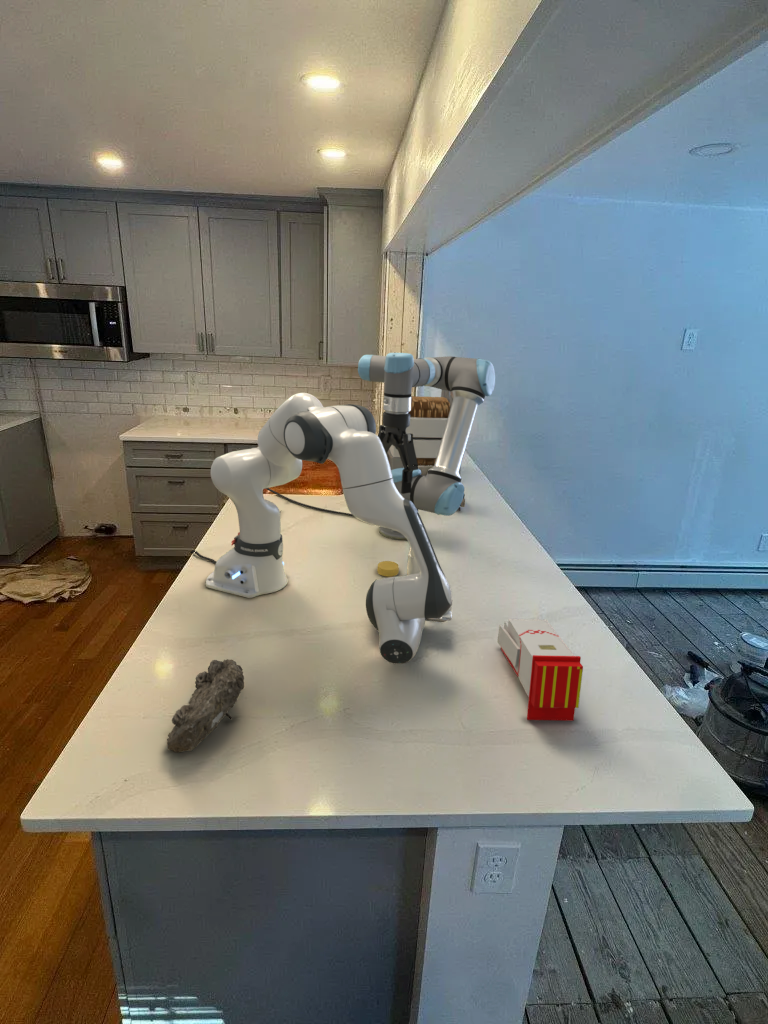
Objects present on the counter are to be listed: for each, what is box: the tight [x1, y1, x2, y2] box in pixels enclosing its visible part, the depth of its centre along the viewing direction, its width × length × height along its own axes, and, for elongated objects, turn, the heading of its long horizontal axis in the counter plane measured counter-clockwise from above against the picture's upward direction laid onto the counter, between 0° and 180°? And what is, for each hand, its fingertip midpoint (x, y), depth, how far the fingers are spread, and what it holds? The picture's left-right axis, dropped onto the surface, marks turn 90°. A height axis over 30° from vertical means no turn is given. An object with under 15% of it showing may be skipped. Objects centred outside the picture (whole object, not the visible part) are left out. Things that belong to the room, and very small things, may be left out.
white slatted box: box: [386, 389, 462, 476], centre depth 268 cm, size 34×33×41 cm
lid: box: [376, 560, 400, 578], centre depth 170 cm, size 6×6×2 cm
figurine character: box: [457, 493, 466, 511], centre depth 229 cm, size 7×8×15 cm
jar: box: [406, 546, 420, 575], centre depth 151 cm, size 6×6×16 cm
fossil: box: [166, 658, 245, 754], centre depth 106 cm, size 22×10×15 cm
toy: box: [497, 618, 584, 722], centre depth 122 cm, size 12×13×30 cm
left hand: (414, 589), depth 147 cm, fingers open, 8 cm apart
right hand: (392, 486), depth 162 cm, fingers open, 13 cm apart
